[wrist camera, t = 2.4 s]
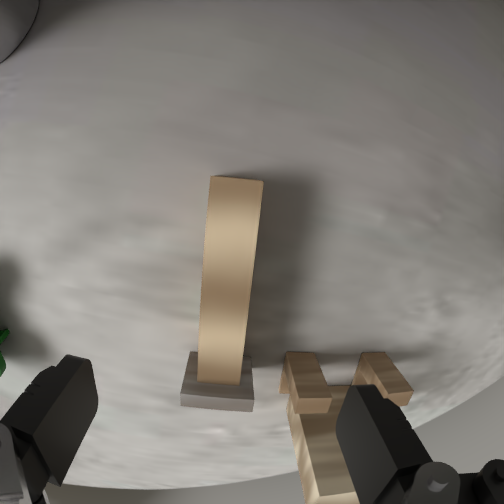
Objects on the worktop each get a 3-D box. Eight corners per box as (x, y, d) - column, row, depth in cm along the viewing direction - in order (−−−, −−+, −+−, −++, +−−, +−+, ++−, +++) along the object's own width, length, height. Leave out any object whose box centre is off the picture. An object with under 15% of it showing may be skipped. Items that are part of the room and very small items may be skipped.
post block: (286, 351, 25) (316, 466, 13) (384, 352, 25) (450, 441, 14) (274, 409, 26) (291, 516, 15) (364, 406, 27) (408, 496, 15)
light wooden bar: (201, 174, 21) (189, 174, 16) (273, 181, 21) (285, 184, 16) (189, 363, 25) (180, 405, 19) (249, 368, 25) (252, 412, 20)
